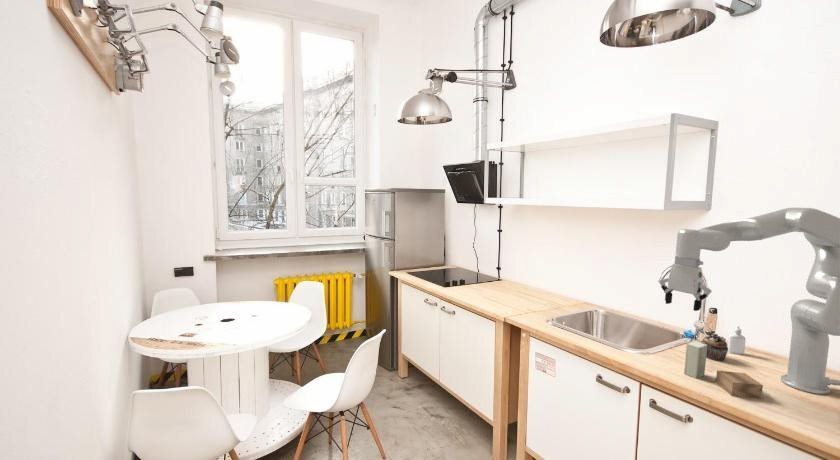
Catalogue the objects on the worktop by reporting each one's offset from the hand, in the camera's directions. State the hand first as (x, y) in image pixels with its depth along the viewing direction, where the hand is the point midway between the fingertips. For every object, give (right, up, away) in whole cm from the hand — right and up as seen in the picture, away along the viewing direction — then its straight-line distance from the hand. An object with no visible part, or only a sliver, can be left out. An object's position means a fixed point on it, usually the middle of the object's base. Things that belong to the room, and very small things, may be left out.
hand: (682, 306), depth 143 cm
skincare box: (+5, -26, +1) cm, 27 cm away
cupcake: (+26, -26, +18) cm, 41 cm away
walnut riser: (+12, -28, -10) cm, 32 cm away
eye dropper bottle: (+40, -25, +24) cm, 53 cm away
